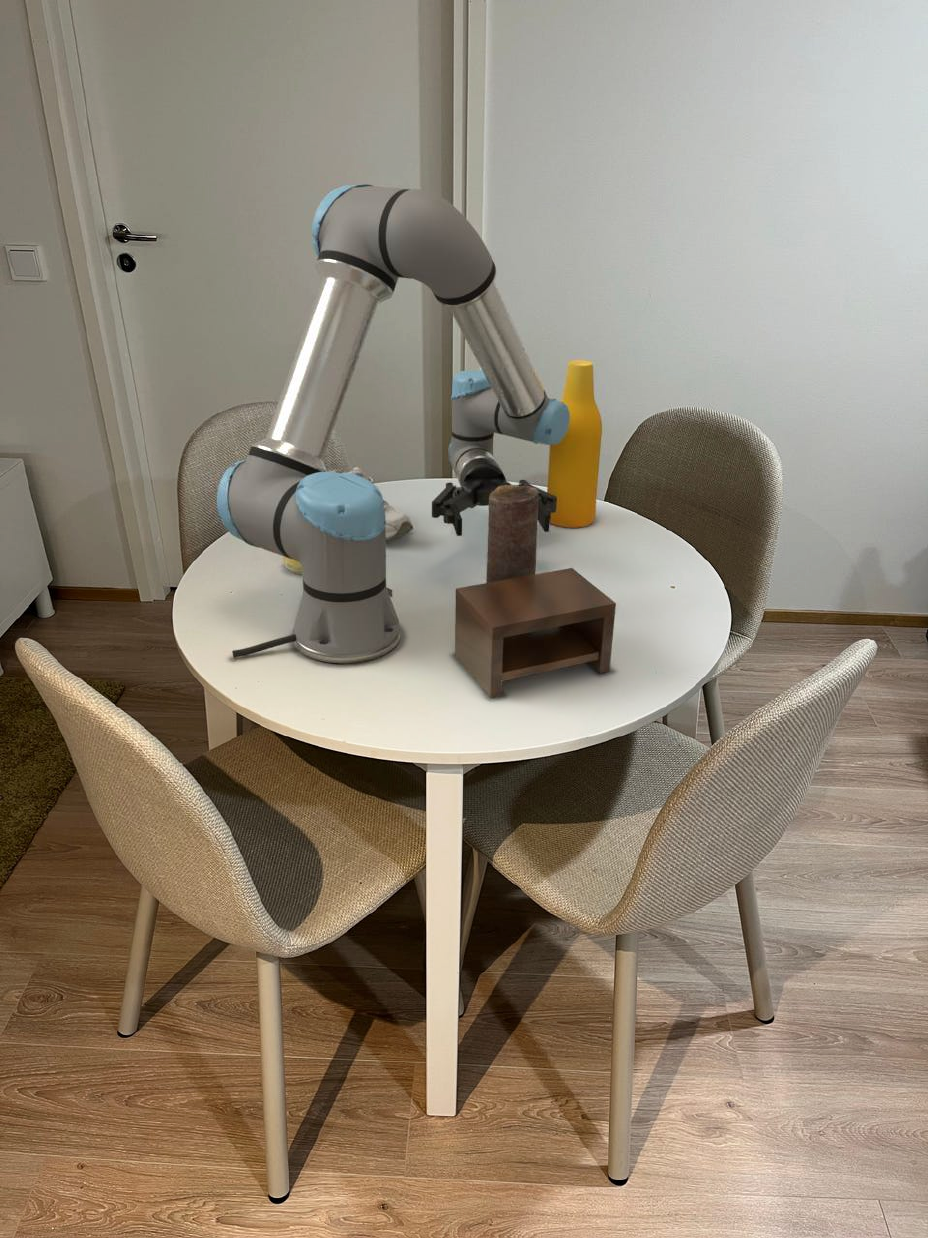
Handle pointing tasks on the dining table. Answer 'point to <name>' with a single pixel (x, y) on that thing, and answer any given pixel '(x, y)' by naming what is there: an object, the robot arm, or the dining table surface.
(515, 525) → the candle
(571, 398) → the beer bottle
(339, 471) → the athletic shoe
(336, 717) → the dining table surface
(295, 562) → the bread roll
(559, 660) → the shelf
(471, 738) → the dining table surface
